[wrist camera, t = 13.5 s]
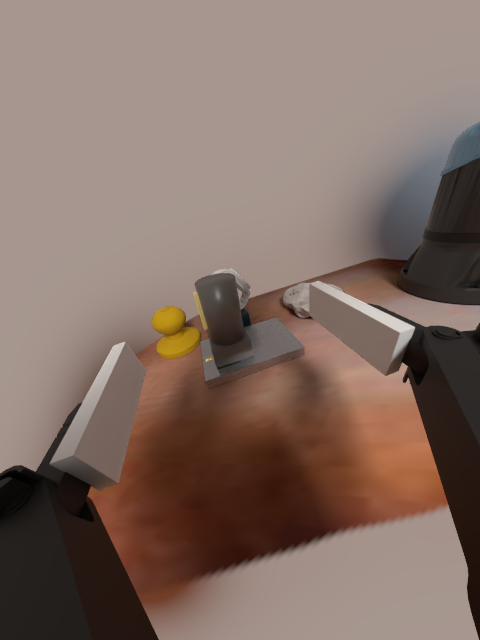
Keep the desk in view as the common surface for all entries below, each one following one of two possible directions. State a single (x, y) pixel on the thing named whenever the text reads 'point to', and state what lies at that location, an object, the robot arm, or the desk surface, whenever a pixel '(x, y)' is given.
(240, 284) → the watch
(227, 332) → the cylinder
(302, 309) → the fossil
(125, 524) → the desk surface
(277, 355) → the hub plate
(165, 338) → the yellow stacked oval discs
